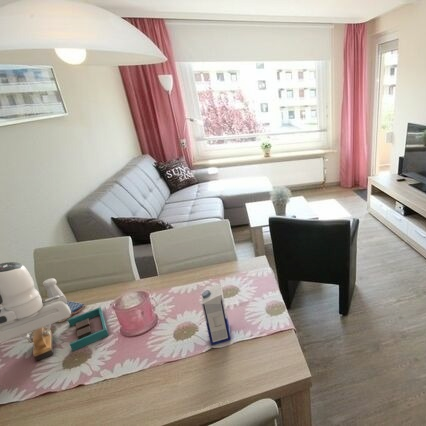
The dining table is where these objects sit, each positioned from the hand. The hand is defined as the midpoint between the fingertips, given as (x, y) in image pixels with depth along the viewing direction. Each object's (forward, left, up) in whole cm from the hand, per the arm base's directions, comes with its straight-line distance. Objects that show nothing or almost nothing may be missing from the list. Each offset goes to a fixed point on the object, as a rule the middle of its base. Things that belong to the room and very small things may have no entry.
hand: (40, 338), depth 104 cm
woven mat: (+6, +20, -5) cm, 21 cm away
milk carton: (+49, -39, -5) cm, 63 cm away
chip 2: (+12, -3, -5) cm, 13 cm away
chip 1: (+12, +2, -5) cm, 13 cm away
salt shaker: (+4, +29, -5) cm, 30 cm away
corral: (+12, 0, -5) cm, 13 cm away
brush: (0, 0, -5) cm, 4 cm away
